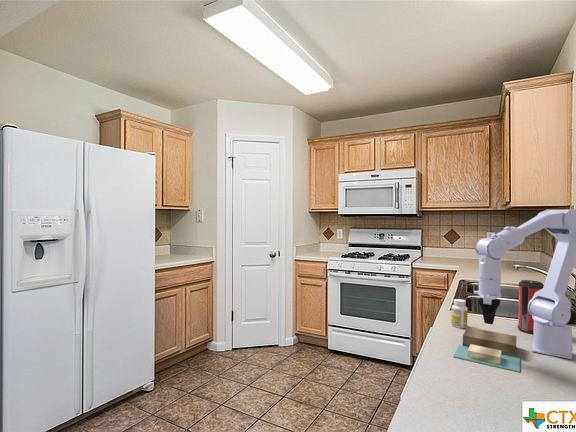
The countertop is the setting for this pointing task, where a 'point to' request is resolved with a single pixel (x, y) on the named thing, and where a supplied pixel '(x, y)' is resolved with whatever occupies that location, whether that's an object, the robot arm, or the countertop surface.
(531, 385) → the countertop surface
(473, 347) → the maple block
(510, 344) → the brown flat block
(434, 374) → the countertop surface
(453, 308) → the supplement bottle
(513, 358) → the mat
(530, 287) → the speaker
